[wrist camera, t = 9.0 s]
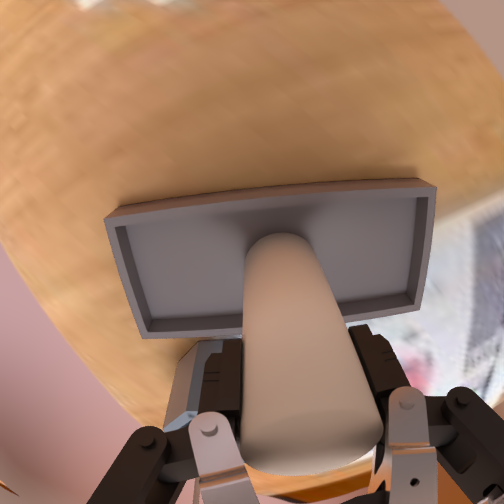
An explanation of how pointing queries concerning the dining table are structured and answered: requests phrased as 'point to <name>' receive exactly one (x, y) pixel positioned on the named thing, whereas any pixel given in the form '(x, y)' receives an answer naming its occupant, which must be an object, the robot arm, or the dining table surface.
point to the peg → (299, 367)
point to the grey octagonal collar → (188, 385)
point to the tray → (258, 226)
